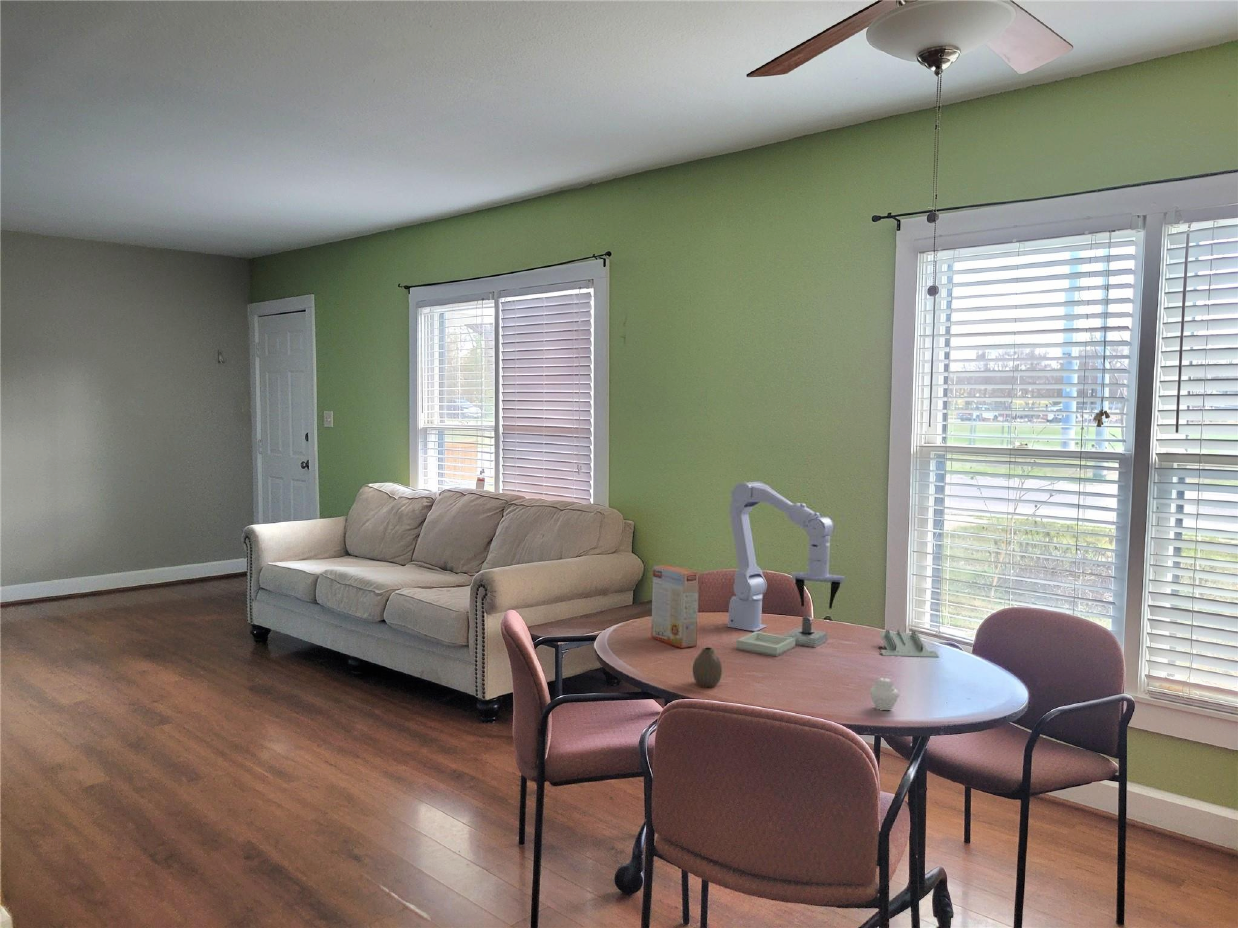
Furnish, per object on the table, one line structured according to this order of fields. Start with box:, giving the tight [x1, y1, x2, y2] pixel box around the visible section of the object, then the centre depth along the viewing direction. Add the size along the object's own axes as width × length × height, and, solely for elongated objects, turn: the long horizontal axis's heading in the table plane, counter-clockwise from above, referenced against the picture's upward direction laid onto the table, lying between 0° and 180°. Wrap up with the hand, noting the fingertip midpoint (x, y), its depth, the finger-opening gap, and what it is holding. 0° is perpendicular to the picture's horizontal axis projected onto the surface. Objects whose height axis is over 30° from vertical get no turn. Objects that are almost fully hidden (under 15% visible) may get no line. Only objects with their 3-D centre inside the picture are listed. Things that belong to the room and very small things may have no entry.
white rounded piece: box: [869, 677, 900, 711], centre depth 192 cm, size 6×6×7 cm
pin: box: [801, 615, 813, 635], centre depth 248 cm, size 3×3×7 cm
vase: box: [692, 646, 723, 688], centre depth 206 cm, size 7×7×9 cm
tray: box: [736, 630, 796, 657], centre depth 240 cm, size 12×12×2 cm
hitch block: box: [784, 627, 828, 648], centre depth 248 cm, size 9×9×2 cm
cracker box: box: [650, 564, 700, 649], centre depth 243 cm, size 14×6×21 cm, turn 34°
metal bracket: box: [879, 628, 940, 659], centre depth 241 cm, size 14×6×15 cm
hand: (816, 606), depth 247 cm, fingers open, 7 cm apart
